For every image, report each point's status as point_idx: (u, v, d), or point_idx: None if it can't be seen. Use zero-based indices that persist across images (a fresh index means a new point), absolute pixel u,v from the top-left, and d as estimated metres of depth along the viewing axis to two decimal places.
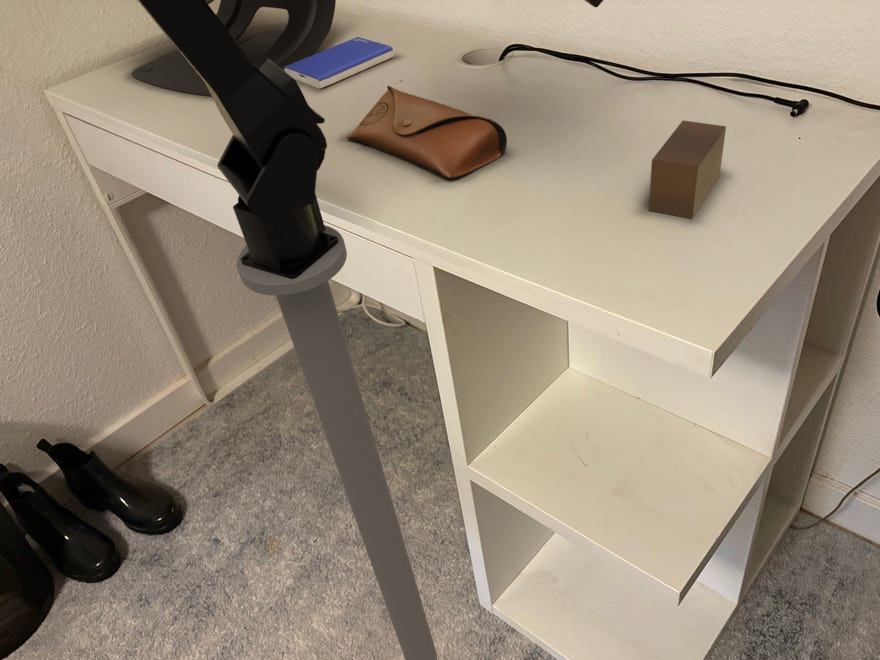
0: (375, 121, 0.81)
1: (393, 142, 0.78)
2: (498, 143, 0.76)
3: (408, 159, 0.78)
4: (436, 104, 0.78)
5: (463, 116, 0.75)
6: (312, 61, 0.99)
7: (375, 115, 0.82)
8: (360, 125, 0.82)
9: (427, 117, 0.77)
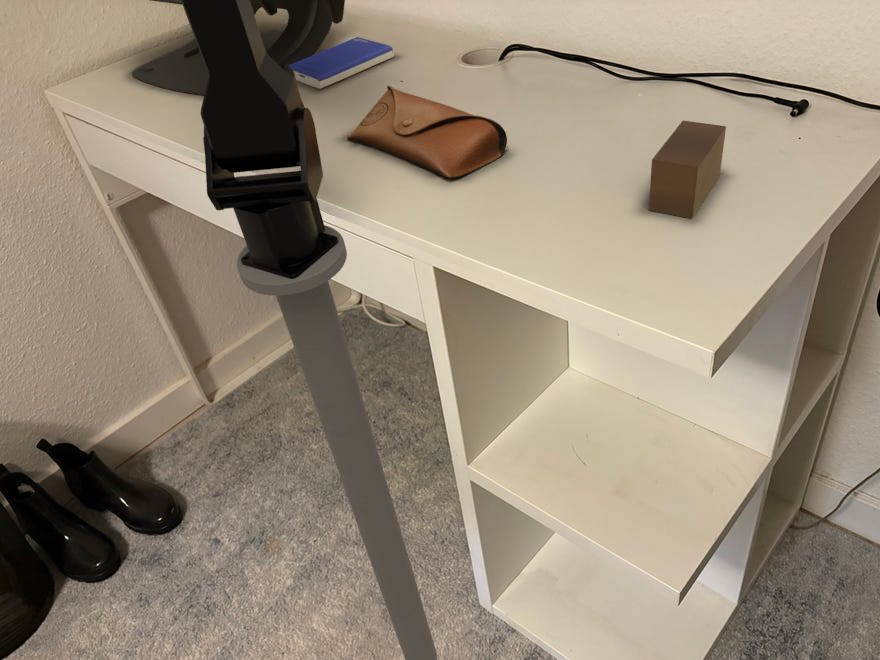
0: (375, 121, 0.81)
1: (393, 142, 0.78)
2: (498, 143, 0.76)
3: (408, 159, 0.78)
4: (436, 104, 0.78)
5: (463, 116, 0.75)
6: (312, 61, 0.99)
7: (375, 115, 0.82)
8: (360, 125, 0.82)
9: (427, 117, 0.77)
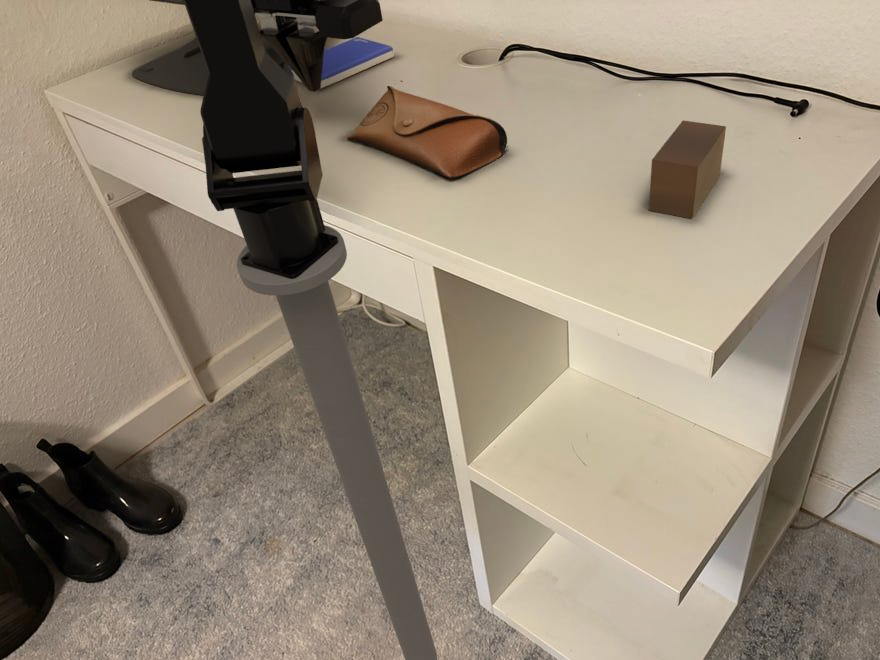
0: (375, 121, 0.81)
1: (393, 142, 0.78)
2: (498, 143, 0.76)
3: (408, 159, 0.78)
4: (436, 104, 0.78)
5: (463, 116, 0.75)
6: None
7: (375, 115, 0.82)
8: (360, 125, 0.82)
9: (427, 117, 0.77)
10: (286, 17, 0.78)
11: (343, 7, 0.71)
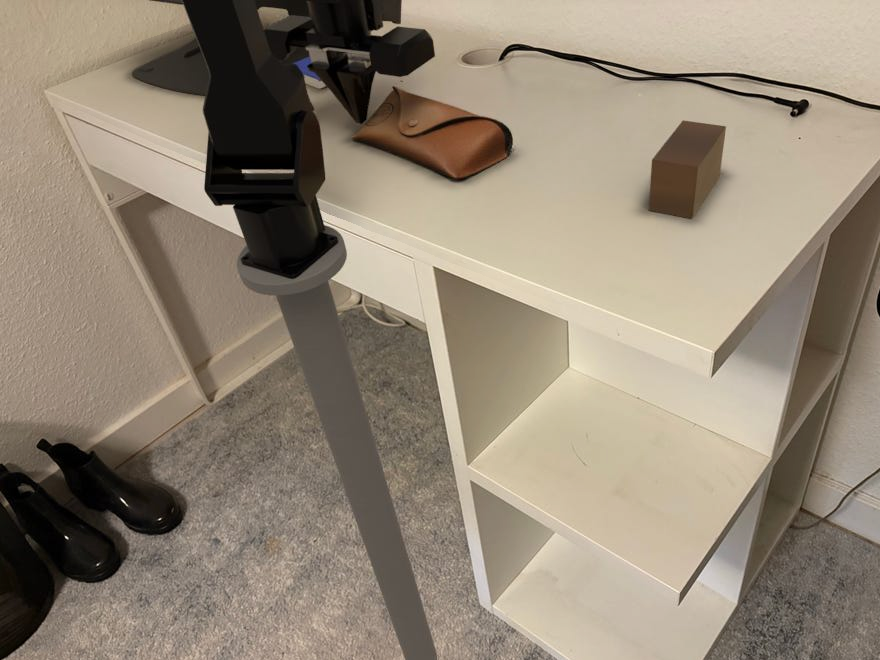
0: (380, 121, 0.81)
1: (399, 143, 0.78)
2: (504, 144, 0.76)
3: (414, 160, 0.77)
4: (442, 104, 0.78)
5: (469, 116, 0.75)
6: None
7: (380, 115, 0.81)
8: (365, 125, 0.82)
9: (432, 118, 0.77)
10: (336, 51, 0.77)
11: (399, 45, 0.71)
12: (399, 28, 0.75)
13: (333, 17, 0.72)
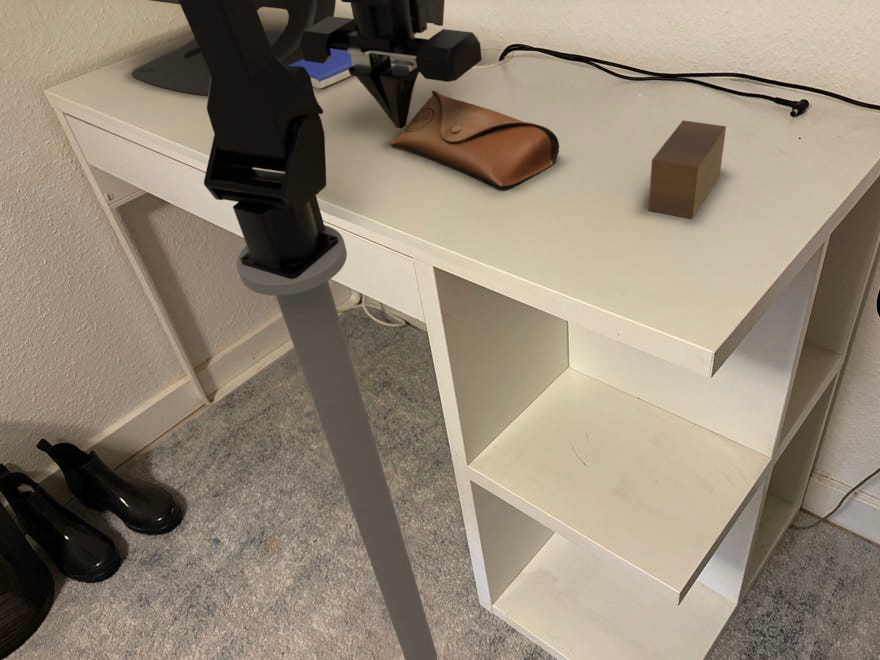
0: (421, 127, 0.79)
1: (441, 150, 0.76)
2: (550, 151, 0.74)
3: (456, 167, 0.75)
4: (485, 110, 0.76)
5: (515, 123, 0.73)
6: (312, 62, 0.99)
7: (420, 121, 0.79)
8: (405, 131, 0.80)
9: (476, 124, 0.75)
10: (379, 54, 0.75)
11: (447, 49, 0.69)
12: (445, 31, 0.72)
13: (379, 19, 0.70)
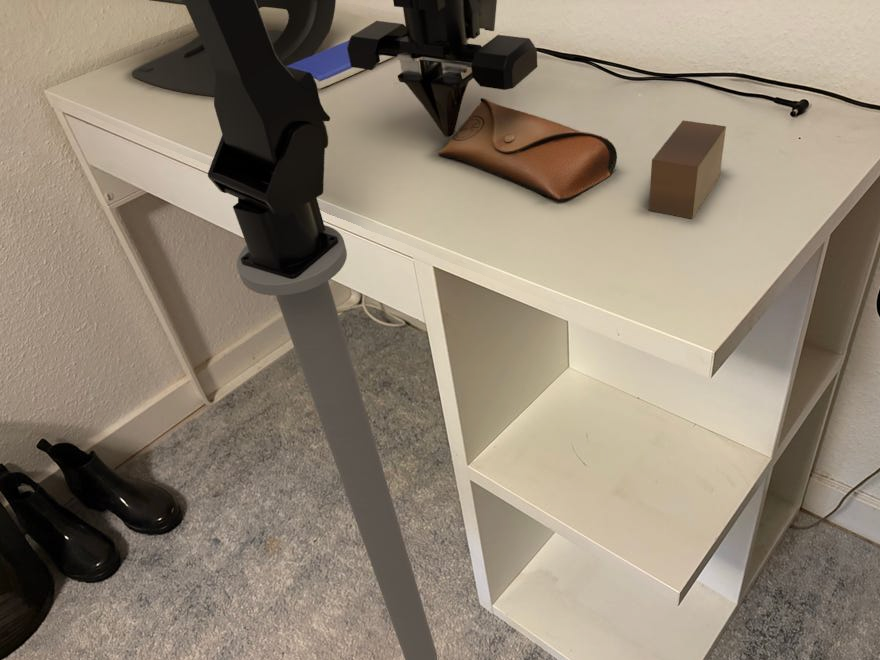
0: (471, 136, 0.76)
1: (493, 160, 0.73)
2: (607, 162, 0.71)
3: (509, 178, 0.72)
4: (539, 119, 0.73)
5: (572, 133, 0.70)
6: (311, 61, 0.99)
7: (469, 129, 0.77)
8: (453, 140, 0.77)
9: (530, 133, 0.72)
10: (430, 61, 0.72)
11: (505, 56, 0.66)
12: (500, 37, 0.70)
13: (433, 25, 0.67)
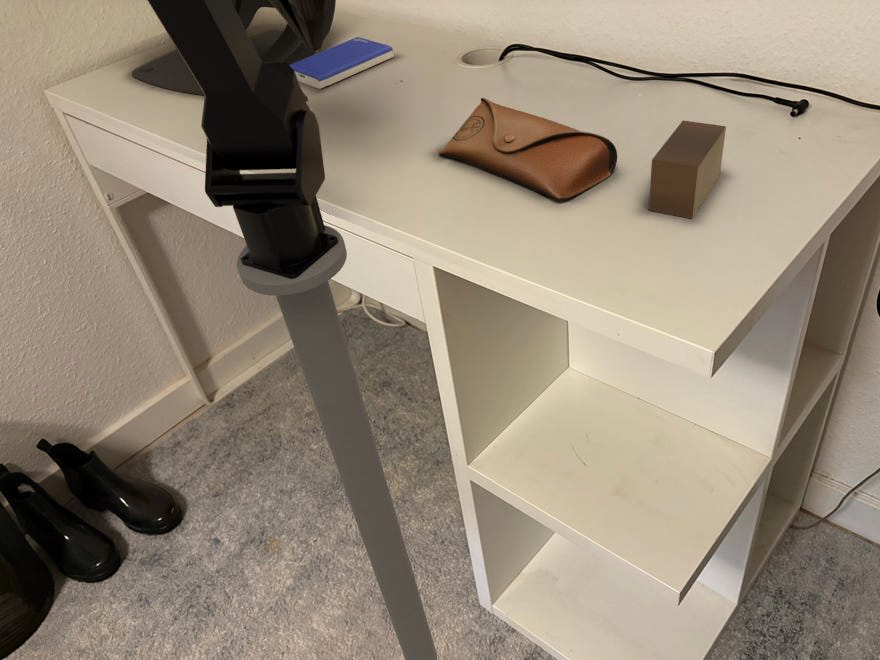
0: (471, 136, 0.76)
1: (494, 160, 0.73)
2: (608, 162, 0.71)
3: (510, 178, 0.72)
4: (539, 119, 0.73)
5: (572, 132, 0.70)
6: (312, 62, 0.99)
7: (470, 129, 0.77)
8: (454, 140, 0.77)
9: (531, 133, 0.72)
10: None
11: None
12: None
13: None
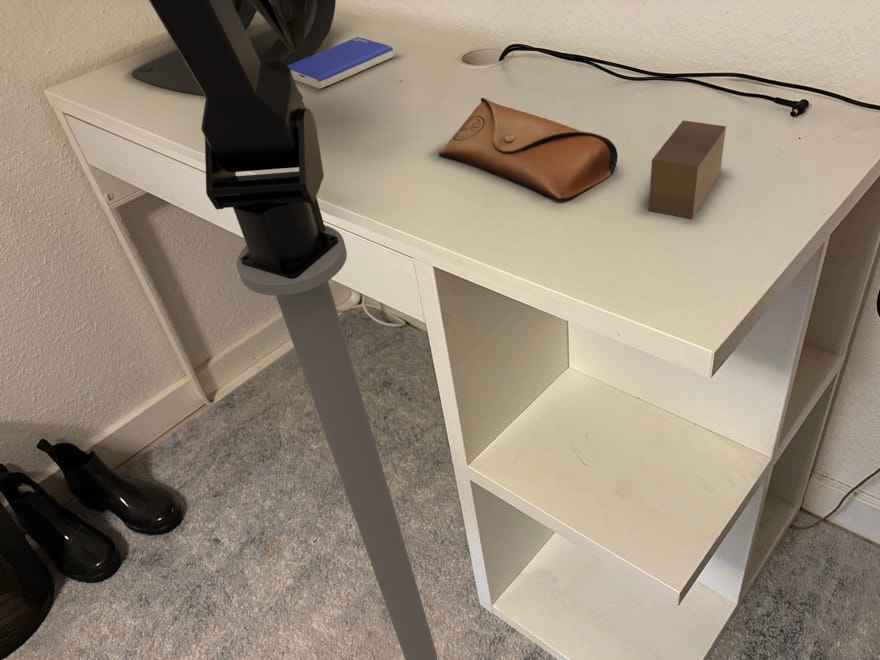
0: (471, 136, 0.76)
1: (494, 160, 0.73)
2: (608, 162, 0.71)
3: (510, 178, 0.72)
4: (539, 119, 0.73)
5: (572, 132, 0.70)
6: (312, 62, 0.99)
7: (470, 129, 0.77)
8: (454, 140, 0.77)
9: (531, 133, 0.72)
10: None
11: None
12: None
13: None
